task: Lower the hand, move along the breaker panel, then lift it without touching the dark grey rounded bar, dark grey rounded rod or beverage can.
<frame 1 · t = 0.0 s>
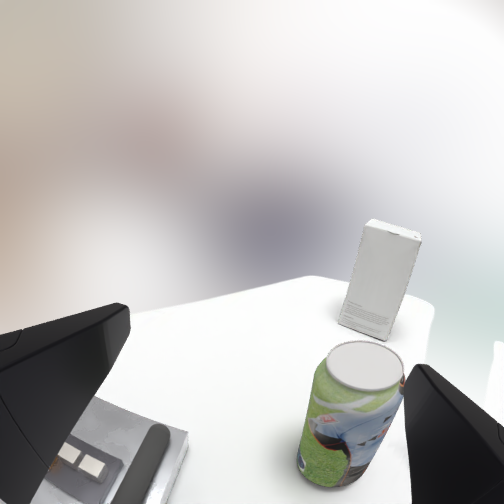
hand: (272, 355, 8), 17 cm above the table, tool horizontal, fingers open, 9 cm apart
beverage can: (320, 463, 19), on the table
breaker panel: (75, 476, 13), on the table
dark grey rounded rod: (132, 497, 12), point 2 cm above the table, touching breaker panel
skincare box: (364, 325, 42), on the table
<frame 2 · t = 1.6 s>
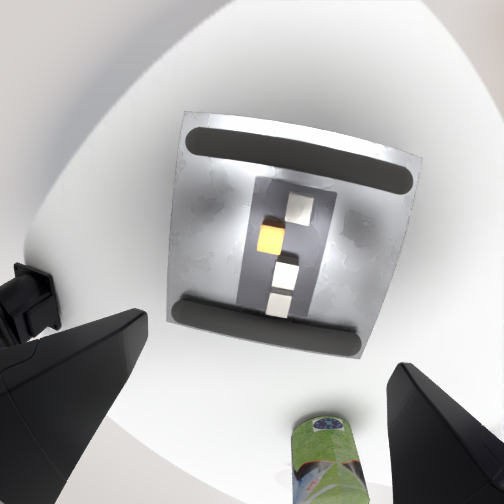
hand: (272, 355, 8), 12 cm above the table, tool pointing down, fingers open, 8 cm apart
beverage can: (324, 423, 25), on the table
breaker panel: (285, 236, 19), on the table
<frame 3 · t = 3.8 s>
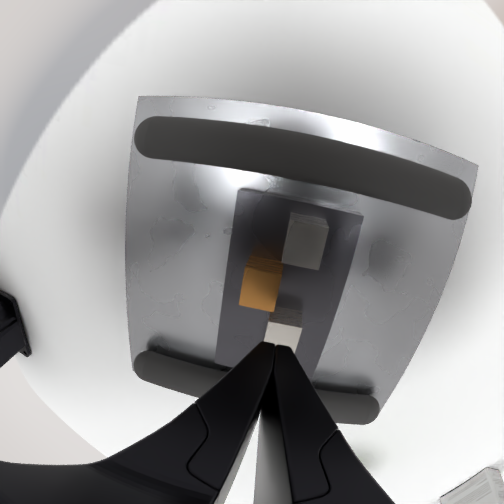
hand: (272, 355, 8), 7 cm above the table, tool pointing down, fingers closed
breaker panel: (284, 269, 14), on the table
skincare box: (470, 482, 20), on the table
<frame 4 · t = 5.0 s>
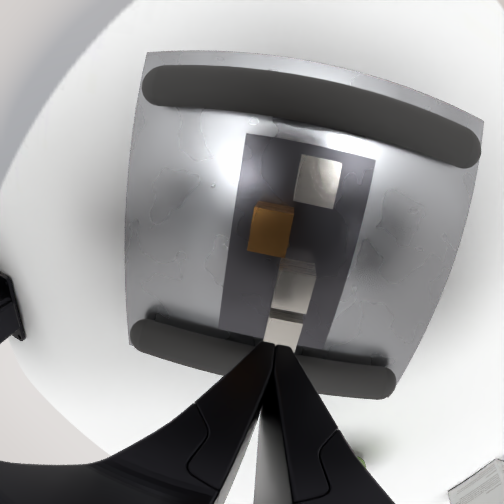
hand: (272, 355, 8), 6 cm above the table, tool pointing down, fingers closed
beverage can: (334, 459, 19), on the table
breaker panel: (292, 229, 13), on the table
skincare box: (478, 475, 20), on the table
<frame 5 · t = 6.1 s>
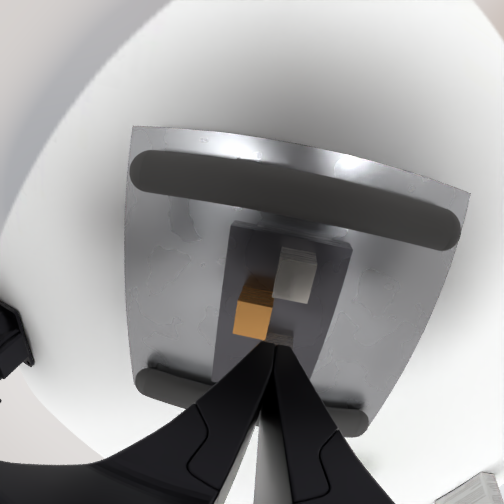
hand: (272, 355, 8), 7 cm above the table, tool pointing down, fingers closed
breaker panel: (278, 291, 15), on the table
skincare box: (465, 486, 21), on the table
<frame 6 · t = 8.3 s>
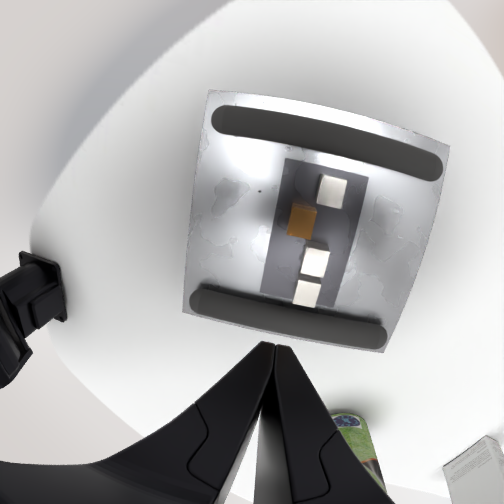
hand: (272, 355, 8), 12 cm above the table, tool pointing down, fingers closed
beverage can: (340, 421, 24), on the table
breaker panel: (310, 223, 18), on the table
skincare box: (471, 452, 25), on the table
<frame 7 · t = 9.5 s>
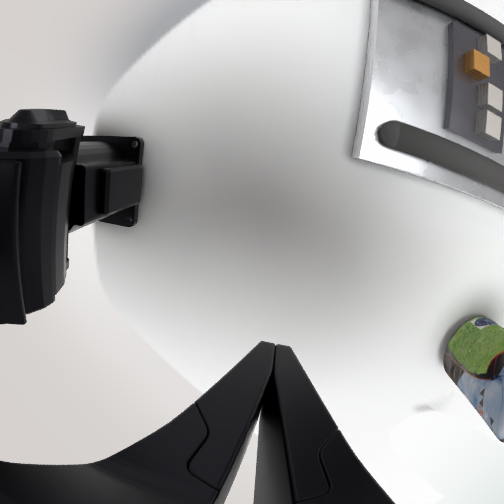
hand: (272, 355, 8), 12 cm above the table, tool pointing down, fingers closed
beverage can: (469, 334, 20), on the table
dark grey rounded bar: (473, 22, 10), point 2 cm above the table, touching breaker panel
breaker panel: (457, 92, 14), on the table
dark grey rounded rod: (467, 164, 13), point 2 cm above the table, touching breaker panel
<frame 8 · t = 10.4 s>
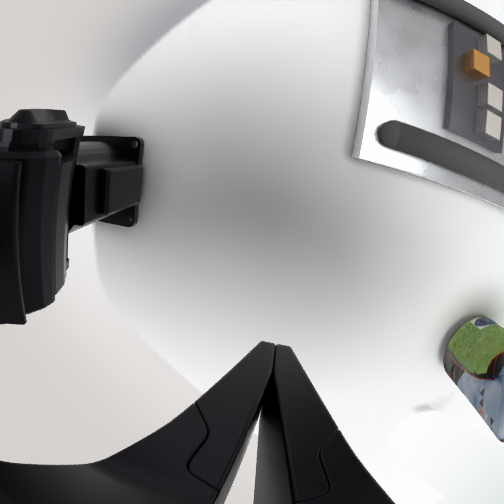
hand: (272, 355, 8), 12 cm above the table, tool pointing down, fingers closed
beverage can: (469, 333, 20), on the table
dark grey rounded bar: (473, 22, 10), point 2 cm above the table, touching breaker panel
breaker panel: (457, 91, 14), on the table
dark grey rounded rod: (467, 163, 13), point 2 cm above the table, touching breaker panel
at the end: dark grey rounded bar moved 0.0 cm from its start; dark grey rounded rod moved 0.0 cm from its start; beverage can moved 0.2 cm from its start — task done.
